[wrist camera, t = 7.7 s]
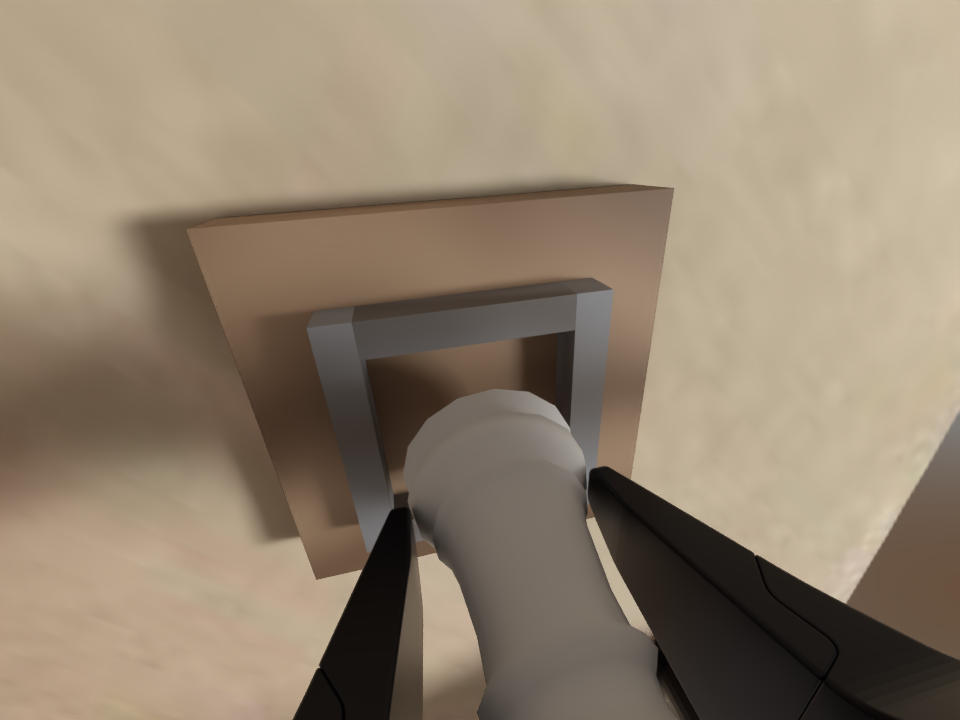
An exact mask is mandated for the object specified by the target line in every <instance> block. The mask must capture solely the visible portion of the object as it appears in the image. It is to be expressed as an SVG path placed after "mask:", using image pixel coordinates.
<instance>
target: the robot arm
mask: <svg viewBox="0 0 960 720" xmlns="http://www.w3.org/2000/svg"><path fill="white" fill-rule="evenodd" d="M587 496H588V501H589V504H590V507H591V509H592V512H593V514H594V516H595V519H596V521H597V523H598V526H599V528H600V530H601V533H602V535H603V538H604V540H605V542H606V545H607V547H608V549H609V552H610V554H611V556H612V559H613V561H614V563H615V565H616V567H617V569H618V571H619V573H620V575H621V576H622V578H623V580H624V582H625V584H626V586H627V587H628V589H629V591H630V593H631V595H632V596H633V598H634V600H635V602H636V604H637V606H638V607H639V609H640V611H641V613H642V615H643V616H644V618H645V620H646V622H647V624H648V626H649V627H650V629H651V631H652V633H653V635H654V636H655V638H656V640H657V643H656V644H655V645H656V646H657V647H658V660H657V674H656V676H657V678H658V681H659V683H660V686H661V688H662V691H663V693H664V696H665V698H666V700H667V702H668V704H669V705H670V707H671V708H672V710H673V711H674V713H675V714H676V716H677V717H678V719H679V720H960V660H958V659H956V658H953V657H951V656H949V655H946V654H944V653H941V652H939V651H937V650H935V649H933V648H931V647H929V646H927V645H925V644H923V643H921V642H919V641H916V640H915V639H913V638H911V637H909V636H907V635H905V634H903V633H901V632H899V631H897V630H895V629H894V628H891V627H890V626H888V625H885V624H884V623H882V622H880V621H878V620H876V619H874V618H872V617H870V616H868V615H866V614H864V613H862V612H860V611H858V610H856V609H854V608H852V607H851V606H848V605H847V604H845V603H843V602H841V601H839V600H837V599H835V598H833V597H831V596H829V595H828V594H826V593H824V592H822V591H820V590H818V589H816V588H814V587H813V586H811V585H809V584H807V583H805V582H803V581H802V580H800V579H798V578H796V577H795V576H793V575H791V574H789V573H788V572H786V571H784V570H782V569H781V568H779V567H777V566H775V565H774V564H772V563H770V562H769V561H767V560H765V559H764V558H762V557H760V556H758V555H756V556H755V555H754V553H753V552H752V551H750V550H748V549H747V548H745V547H743V546H741V545H740V544H738V543H736V542H735V541H733V540H731V539H730V538H728V537H726V536H725V535H723V534H721V533H720V532H718V531H716V530H714V529H713V528H711V527H709V526H708V525H706V524H704V523H703V522H701V521H699V520H698V519H696V518H694V517H693V516H691V515H689V514H688V513H686V512H684V511H682V510H681V509H679V508H677V507H676V506H674V505H672V504H671V503H669V502H667V501H666V500H664V499H662V498H661V497H659V496H657V495H655V494H654V493H652V492H650V491H649V490H647V489H645V488H644V487H642V486H640V485H639V484H637V483H635V482H634V481H632V480H630V479H629V478H627V477H625V476H623V475H622V474H620V473H618V472H617V471H615V470H613V469H612V468H610V467H608V466H602V467H597V468H592V469H591V470H590V472H589V479H588V492H587ZM319 667H320V668H318V669H317V670H316V672H315V674H314V676H313V678H312V680H311V682H310V685H309V687H308V689H307V691H306V693H305V695H304V697H303V699H302V701H301V703H300V706H299V708H298V710H297V712H296V714H295V716H294V718H293V720H423V606H422V595H421V586H420V576H419V567H418V558H417V549H416V540H415V533H414V527H413V522H412V516H411V511H410V508H409V507H408V506H404V507H399V508H394V509H392V510H390V512H389V514H388V516H387V518H386V520H385V523H384V525H383V527H382V529H381V531H380V533H379V536H378V538H377V540H376V542H375V544H374V546H373V549H372V551H371V553H370V555H369V557H368V559H367V562H366V564H365V566H364V568H363V570H362V572H361V575H360V577H359V579H358V581H357V583H356V585H355V588H354V590H353V592H352V594H351V596H350V598H349V601H348V603H347V605H346V607H345V609H344V611H343V614H342V616H341V618H340V620H339V622H338V624H337V627H336V629H335V631H334V633H333V635H332V637H331V640H330V642H329V644H328V646H327V648H326V650H325V653H324V655H323V657H322V659H321V661H320V663H319Z"/></svg>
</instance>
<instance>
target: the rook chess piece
mask: <svg viewBox="0 0 960 720" xmlns="http://www.w3.org/2000/svg"><path fill="white" fill-rule="evenodd" d="M403 477H404V480H405V483H406V486H407V489H408V492H409V497H408V504H409V507H410V510H411V512H412V515H413V518H414V521H415V523H416V526H417V528H418V530H419V533H420V535H421V537H422V538H423V539H424V540H425V541H426V542H427V543H428V544H430V545H431V546H432V547H433V548H434V549H436V552H437V555H438V558H439V560H440V561H442V562H443V563H444V564H445V565H446V566H448V567H449V568H450V569H451V570H452V571H453V573H454V575H455V577H456V579H457V581H458V583H459V585H460V587H461V590H462V593H463V596H464V599H465V602H466V605H467V608H468V611H469V614H470V617H471V620H472V623H473V626H474V629H475V632H476V635H477V639H478V644H479V649H480V654H481V659H482V664H483V669H484V675H485V680H486V685H487V687H486V690H485V693H484V695H483V698H482V701H481V703H480V706H479V709H478V711H477V714H478V717H479V719H480V720H679V719H678V717H677V716H676V714H675V713H674V711H673V710H672V708H671V707H670V705H669V704H668V702H667V701H666V698H665V696H664V693H663V691H662V688H661V686H660V683H659V681H658V678H657V676H656V674H657V660H658V647H657V646H656V645H655V644H654V643H653V642H652V640H651V639H650V638H649V637H648V636H647V635H646V634H645V633H643V632H641V631H640V630H638V629H636V628H634V627H632V626H630V624H629V622H628V620H627V618H626V616H625V615H624V613H623V611H622V609H621V607H620V605H619V603H618V601H617V600H616V598H615V596H614V594H613V592H612V590H611V588H610V585H609V582H608V580H607V577H606V574H605V572H604V569H603V567H602V564H601V561H600V559H599V556H598V553H597V551H596V548H595V545H594V543H593V540H592V537H591V535H590V532H589V530H588V527H587V522H586V517H587V514H588V508H587V494H586V490H587V479H586V464H585V459H584V455H583V451H582V449H581V448H580V446H579V445H578V443H577V442H576V441H575V439H574V438H573V436H572V435H571V432H570V427H569V426H568V424H567V423H566V421H565V420H564V418H563V417H562V415H561V414H560V412H559V411H558V409H557V408H556V406H554V405H552V404H550V403H549V402H547V401H545V400H543V399H541V398H539V397H538V396H536V395H534V394H532V393H530V392H526V391H514V390H503V389H491V390H488V391H484V392H480V393H476V394H473V395H469V396H465V397H461V398H458V399H456V400H455V401H453V402H452V403H450V404H449V405H447V406H446V407H445V408H443V409H442V410H440V411H439V412H437V413H436V414H434V415H433V416H431V417H430V418H428V419H427V420H426V422H425V423H424V424H423V426H422V427H421V429H420V430H419V432H418V433H417V434H416V436H415V437H414V439H413V440H412V442H411V443H410V444H409V446H408V449H407V455H406V460H405V466H404V472H403Z"/></svg>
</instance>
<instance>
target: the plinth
mask: <svg viewBox="0 0 960 720" xmlns="http://www.w3.org/2000/svg"><path fill="white" fill-rule="evenodd" d="M673 192H674V188H666V187H656V186H645V185H634V184H632V185H620V186H608V187H595V188H583V189H571V190H558V191H546V192H533V193H521V194H509V195H496V196H484V197H471V198H459V199H447V200H434V201H422V202H410V203H397V204H385V205H372V206H360V207H348V208H335V209H323V210H311V211H298V212H286V213H273V214H261V215H249V216H236V217H224V218H217V219H214V220H211V221H208V222H205V223H202V224H199V225H197V226H194V227H191V228H188V229H186V231H187V234H188V236H189V239H190V242H191V244H192V247H193V250H194V253H195V255H196V258H197V261H198V263H199V266H200V269H201V271H202V274H203V277H204V279H205V282H206V285H207V287H208V290H209V293H210V295H211V298H212V301H213V304H214V306H215V309H216V312H217V314H218V317H219V320H220V322H221V325H222V328H223V330H224V333H225V336H226V338H227V341H228V344H229V347H230V349H231V352H232V355H233V357H234V360H235V363H236V365H237V368H238V371H239V373H240V376H241V379H242V381H243V384H244V387H245V389H246V392H247V395H248V398H249V400H250V403H251V406H252V408H253V411H254V414H255V416H256V419H257V422H258V424H259V427H260V430H261V432H262V435H263V438H264V441H265V443H266V446H267V449H268V451H269V454H270V457H271V459H272V462H273V465H274V467H275V470H276V473H277V475H278V478H279V481H280V483H281V486H282V489H283V492H284V494H285V497H286V500H287V502H288V505H289V508H290V510H291V513H292V516H293V518H294V521H295V524H296V526H297V529H298V532H299V535H300V537H301V540H302V543H303V545H304V548H305V551H306V553H307V556H308V559H309V561H310V564H311V567H312V569H313V572H314V575H315V577H316V580H317V579H322V578H326V577H331V576H335V575H339V574H344V573H348V572H353V571H357V570H362V569H363V568H364V566H365V564H366V562H367V559H368V557H369V555H370V553H371V551H372V549H373V546H374V544H375V542H376V540H377V538H378V536H379V533H380V531H381V529H382V527H383V525H384V523H385V520H386V518H387V516H388V514H389V512H390V510H392V509H394V508H399V507H404V506H408V507H409V504H408V497H409V492H408V489H407V486H406V483H405V480H404V477H403V472H404V466H405V460H406V455H407V449H408V446H409V444H410V443H411V442H412V440H413V439H414V437H415V436H416V434H417V433H418V432H419V430H420V429H421V427H422V426H423V424H424V423H425V422H426V420H427V419H428V418H430V417H431V416H433V415H434V414H436V413H437V412H439V411H440V410H442V409H443V408H445V407H446V406H447V405H449V404H450V403H452V402H453V401H455V400H456V399H458V398H461V397H465V396H469V395H473V394H476V393H480V392H484V391H488V390H491V389H503V390H514V391H526V392H530V393H532V394H534V395H536V396H538V397H539V398H541V399H543V400H545V401H547V402H549V403H550V404H552V405H554V406H556V408H557V409H558V411H559V412H560V414H561V415H562V417H563V418H564V420H565V421H566V423H567V424H568V426H569V427H570V432H571V435H572V436H573V438H574V439H575V441H576V442H577V443H578V445H579V446H580V448H581V449H582V451H583V455H584V459H585V464H586V479H587V490H586V494H587V492H588V479H589V472H590V470H591V469H592V468H597V467H602V466H608V467H610V468H612V469H613V470H615V471H617V472H618V473H620V474H622V475H623V476H625V477H627V478H629V479H630V480H631V474H632V467H633V460H634V453H635V447H636V440H637V433H638V427H639V420H640V413H641V406H642V400H643V393H644V386H645V380H646V373H647V366H648V359H649V353H650V346H651V339H652V333H653V326H654V319H655V313H656V306H657V299H658V292H659V286H660V279H661V272H662V266H663V259H664V252H665V245H666V239H667V232H668V225H669V219H670V212H671V205H672V198H673ZM409 508H410V507H409ZM587 508H588V514H587V517H586V519H588V518H592V517H595V516H594V514H593V512H592V509H591V507H590V504H589V501H588V496H587ZM410 511H411V510H410ZM411 516H412V522H413V527H414V533H415V540H416V549H417V557H419V556H424V555H428V554H433V553H437V552H436V549H434V548H433V547H432V546H431V545H430V544H428V543H427V542H426V541H425V540H424V539H423V538H422V537H421V535H420V533H419V530H418V528H417V526H416V523H415V521H414V518H413V515H412V512H411Z"/></svg>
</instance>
